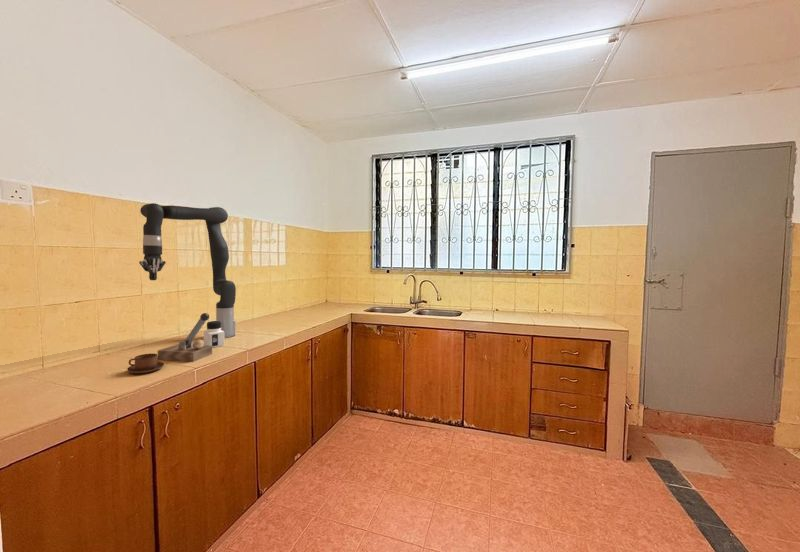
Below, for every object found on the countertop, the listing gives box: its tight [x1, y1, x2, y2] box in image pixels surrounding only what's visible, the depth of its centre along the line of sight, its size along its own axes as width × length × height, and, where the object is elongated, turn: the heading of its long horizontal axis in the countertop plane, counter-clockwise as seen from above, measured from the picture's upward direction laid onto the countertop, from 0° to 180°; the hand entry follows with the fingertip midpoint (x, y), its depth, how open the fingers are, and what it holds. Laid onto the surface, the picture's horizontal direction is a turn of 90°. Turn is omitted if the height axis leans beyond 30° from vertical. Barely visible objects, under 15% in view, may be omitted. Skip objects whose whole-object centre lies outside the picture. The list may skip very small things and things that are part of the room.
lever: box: [184, 312, 210, 348], centre depth 153 cm, size 4×4×20 cm
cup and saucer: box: [126, 353, 165, 374], centre depth 135 cm, size 12×12×6 cm
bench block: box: [157, 338, 213, 363], centre depth 154 cm, size 18×12×8 cm, turn 83°
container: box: [203, 320, 225, 349], centre depth 173 cm, size 8×8×13 cm
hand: (153, 280), depth 161 cm, fingers closed
